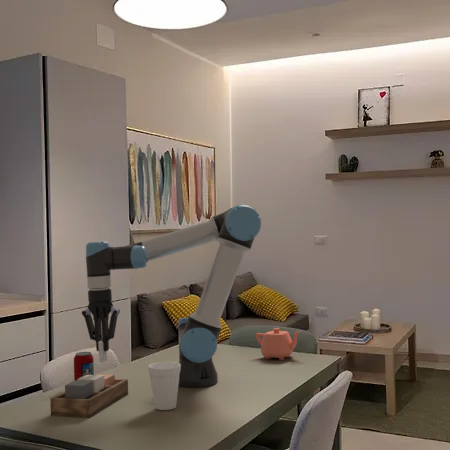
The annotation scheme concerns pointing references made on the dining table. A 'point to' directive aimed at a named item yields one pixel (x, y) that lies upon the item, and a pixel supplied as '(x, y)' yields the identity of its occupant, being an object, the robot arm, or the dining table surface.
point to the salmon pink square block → (108, 379)
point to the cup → (165, 383)
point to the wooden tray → (89, 401)
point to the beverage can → (83, 365)
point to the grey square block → (79, 389)
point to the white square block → (94, 381)
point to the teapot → (277, 343)
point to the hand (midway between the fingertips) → (103, 361)
